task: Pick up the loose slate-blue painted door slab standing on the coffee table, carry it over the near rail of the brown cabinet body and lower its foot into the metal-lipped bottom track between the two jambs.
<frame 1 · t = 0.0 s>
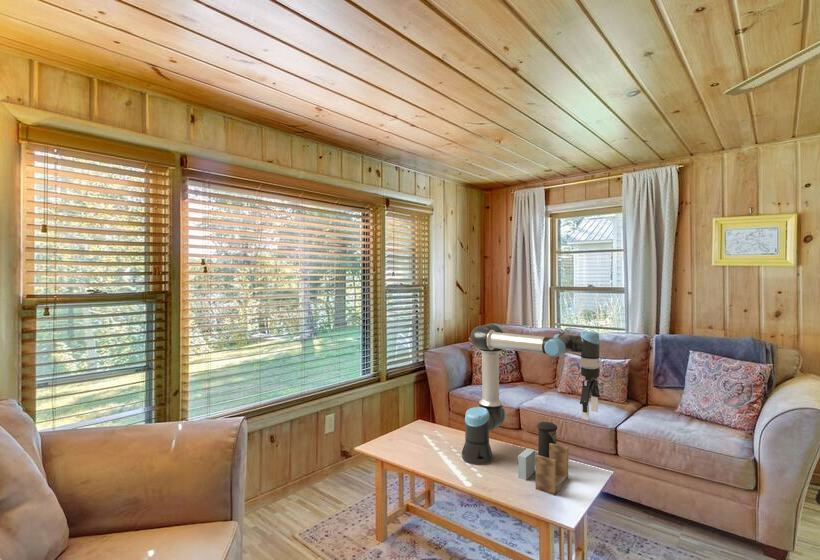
hand: (590, 415, 180), 28 cm above the table, fingers open, 13 cm apart
door slab: (526, 474, 184), on the table
brown cabinet body: (552, 484, 175), on the table
container: (547, 466, 192), on the table
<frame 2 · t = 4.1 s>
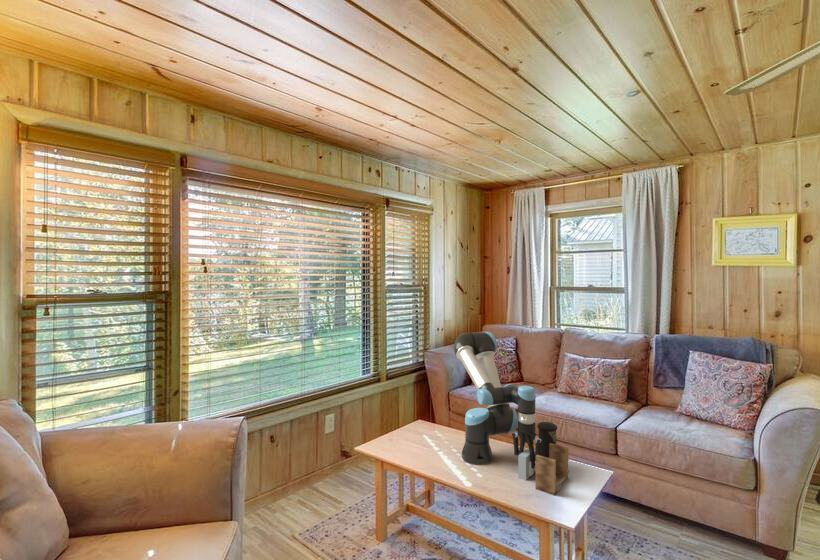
hand: (526, 473, 184), 1 cm above the table, fingers closed on door slab, 3 cm apart
door slab: (526, 474, 184), on the table, touching gripper
everything else where it was.
when the fingers open (4 cm above the table, at t = 7.6 s): door slab drops 2 cm, resting on brown cabinet body.
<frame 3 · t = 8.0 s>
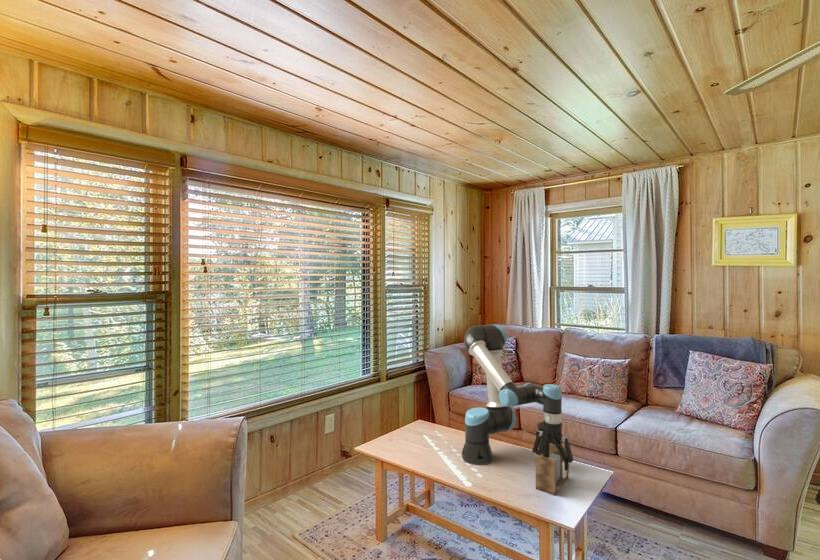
hand: (552, 473, 175), 5 cm above the table, fingers open, 9 cm apart
door slab: (552, 481, 175), point 1 cm above the table, touching brown cabinet body
everything else where it was.
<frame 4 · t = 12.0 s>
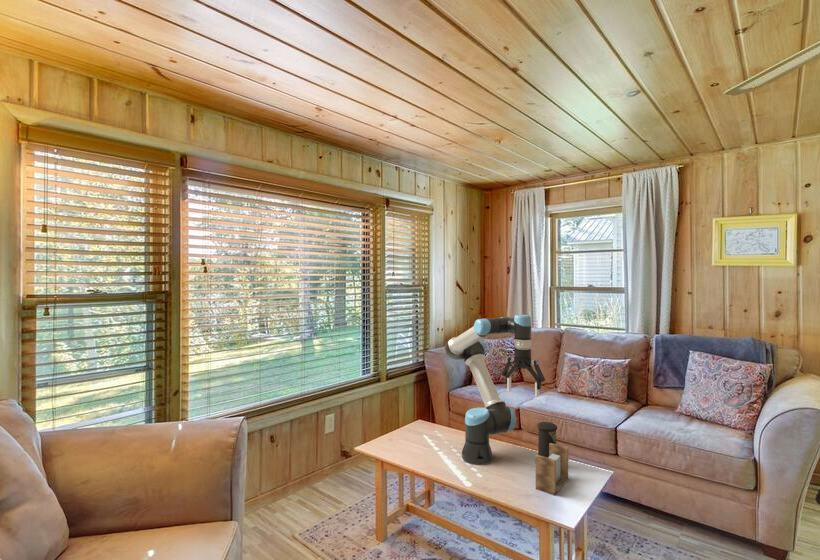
hand: (522, 393, 190), 35 cm above the table, fingers open, 13 cm apart
nothing on the table moved.
at the end: door slab inside the target area on the brown cabinet body (0.1 cm from its centre), point 1.0 cm above the brown cabinet body's base; door slab tilted 0°; the gripper is holding nothing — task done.
